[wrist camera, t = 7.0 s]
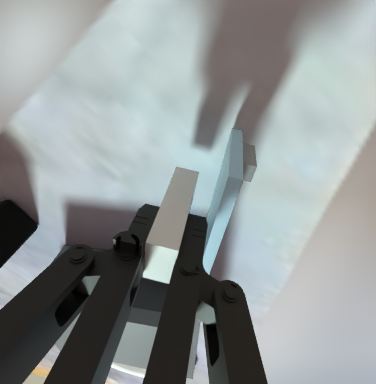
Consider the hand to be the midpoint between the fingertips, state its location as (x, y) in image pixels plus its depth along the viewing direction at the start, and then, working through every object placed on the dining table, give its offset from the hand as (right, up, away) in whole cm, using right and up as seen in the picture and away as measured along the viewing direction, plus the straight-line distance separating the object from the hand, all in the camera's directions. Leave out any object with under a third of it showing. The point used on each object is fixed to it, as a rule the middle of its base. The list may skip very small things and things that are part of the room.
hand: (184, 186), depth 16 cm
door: (+3, -2, +4) cm, 5 cm away
